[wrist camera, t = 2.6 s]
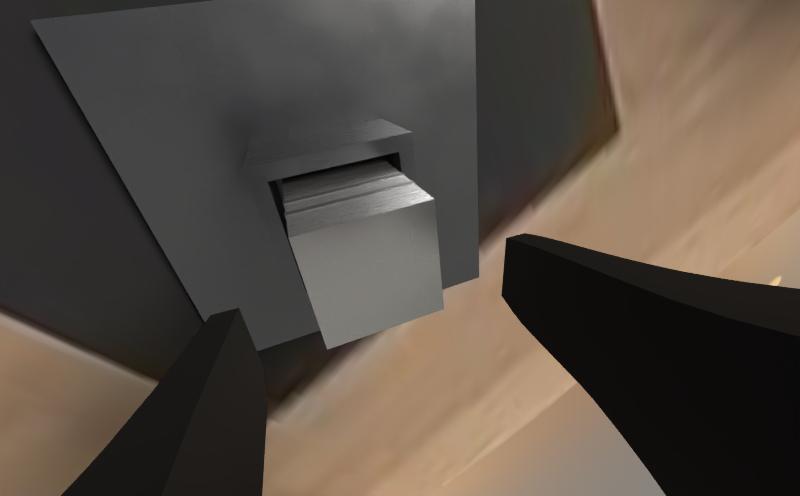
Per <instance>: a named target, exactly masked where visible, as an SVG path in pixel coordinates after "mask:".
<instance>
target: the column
mask: <svg viewBox="0 0 800 496" xmlns="http://www.w3.org/2000/svg"><path fill="white" fill-rule="evenodd" d="M282 187H283V195H284V201H283V205H284V208H285V213H284V215H285V218H286V221H287V229H288V238H289V241H290V244H291V247H292V250H293V252H294V255H295V258H296V261H297V264H298V267H299V270H300V273H301V275H302V278H303V281H304V284H305V287H306V290H307V293H308V296H309V298H310V301H311V304H312V307H313V310H314V313H315V316H316V319H317V321H318V324H319V327H320V330H321V333H322V336H323V339H324V342H325V344H326V347H327V350H328V349H330V348H333V347H336V346H339V345H342V344H345V343H348V342H351V341H353V340H356V339H359V338H362V337H365V336H368V335H371V334H373V333H376V332H379V331H382V330H385V329H388V328H391V327H394V326H396V325H399V324H402V323H405V322H408V321H411V320H414V319H416V318H419V317H422V316H425V315H428V314H431V313H434V312H437V311H439V310H442V309H444V304H443V292H442V280H441V269H440V257H439V246H438V234H437V222H436V211H435V199H434V198H432V197H431V196H430V195H429V194H427V193H426V192H425V191H424V190H422V189H421V188H420V187H418V186H417V185H416V182H414V181H411V180H409V179H408V178H407V177H406V176H405V174H404V173H403V172H402V173H401V172H399V171H398V170H397V169H395V168H394V167H393V166H392V165H390V164H389V163H388V162H387V161H385V160H384V159H383V158H381V157H380V156H378V157H374V158H370V159H365V160H361V161H356V162H352V163H348V164H343V165H339V166H334V167H330V168H326V169H321V170H317V171H312V172H308V173H304V174H299V175H295V176H290V177H286V178H282Z"/></svg>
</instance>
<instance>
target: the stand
mask: <svg viewBox="0 0 800 496" xmlns="http://www.w3.org/2000/svg"><path fill="white" fill-rule="evenodd" d="M30 22H31V23H32V25H33V27H34V29H35V30H36V32H37V34H38V35H39V37H40V39H41V41H42V42H43V44H44V46H45V47H46V49H47V51H48V53H49V54H50V56H51V58H52V60H53V61H54V63H55V65H56V66H57V68H58V70H59V72H60V73H61V75H62V77H63V79H64V80H65V82H66V84H67V85H68V87H69V89H70V91H71V92H72V94H73V96H74V98H75V99H76V101H77V103H78V104H79V106H80V108H81V110H82V111H83V113H84V115H85V117H86V118H87V120H88V122H89V123H90V125H91V127H92V129H93V130H94V132H95V134H96V136H97V137H98V139H99V141H100V142H101V144H102V146H103V148H104V149H105V151H106V153H107V154H108V156H109V158H110V160H111V161H112V163H113V165H114V167H115V168H116V170H117V172H118V173H119V175H120V177H121V179H122V180H123V182H124V184H125V186H126V187H127V189H128V191H129V192H130V194H131V196H132V198H133V199H134V201H135V203H136V205H137V206H138V208H139V210H140V211H141V213H142V215H143V217H144V218H145V220H146V222H147V224H148V225H149V227H150V229H151V230H152V232H153V234H154V236H155V237H156V239H157V241H158V243H159V244H160V246H161V248H162V249H163V251H164V253H165V255H166V256H167V258H168V260H169V261H170V263H171V265H172V267H173V268H174V270H175V272H176V274H177V275H178V277H179V279H180V280H181V282H182V284H183V286H184V287H185V289H186V291H187V293H188V294H189V296H190V298H191V299H192V301H193V303H194V305H195V306H196V308H197V310H198V312H199V313H200V315H201V317H202V318H203V320H204V322H206V320H207V319H208V318H209V317H210V315H213V314H216V313H220V312H224V311H228V310H232V309H236V308H239V309H240V311H241V314H242V316H243V319H244V321H245V323H246V326H247V328H248V331H249V333H250V335H251V338H252V340H253V343H254V345H255V347H256V350H257V351H260V350H263V349H265V348H268V347H271V346H274V345H277V344H280V343H283V342H286V341H289V340H292V339H295V338H298V337H301V336H304V335H307V334H310V333H313V332H316V331H319V330H320V327H319V324H318V321H317V319H316V316H315V313H314V310H313V307H312V304H311V301H310V298H309V296H308V293H307V290H306V287H305V284H304V281H303V278H302V275H301V273H300V270H299V267H298V264H297V261H296V258H295V255H294V252H293V250H292V247H291V244H290V241H289V238H288V229H287V221H286V218H285V215H284V213H285V208H284V205H283V201H284V195H283V187H282V178H286V177H290V176H295V175H299V174H304V173H308V172H312V171H317V170H321V169H326V168H330V167H334V166H339V165H343V164H348V163H352V162H356V161H361V160H365V159H370V158H374V157H378V156H380V157H381V158H383V159H384V160H385V161H387V162H388V163H389V164H390V165H392V166H393V167H394V168H395V169H397V170H398V171H399V172H401V173H402V172H403V173H404V174H405V176H406V177H407V178H408V179H409V180H411V181H414V182H416V185H417V186H418V187H420V188H421V189H422V190H424V191H425V192H426V193H427V194H429V195H430V196H431V197H432V198H434V199H435V211H436V222H437V234H438V246H439V257H440V269H441V280H442V289H445V288H448V287H451V286H454V285H457V284H460V283H463V282H466V281H469V280H472V279H475V278H478V277H479V242H478V177H477V111H476V46H475V0H215V1H205V2H196V3H187V4H177V5H168V6H159V7H149V8H140V9H131V10H121V11H112V12H103V13H93V14H84V15H75V16H65V17H56V18H47V19H38V20H30Z"/></svg>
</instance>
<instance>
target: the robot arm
mask: <svg viewBox="0 0 800 496" xmlns="http://www.w3.org/2000/svg"><path fill="white" fill-rule="evenodd" d="M502 297H503V298H504V300H505V301H506V303H507V304H508V305H509V307H510V308H511V310H512V311H513V312H514V314H515V315H516V316H517V318H518V319H519V320H520V322H521V323H522V324H523V325H524V326H525V327H526V328H527V330H528V331H529V332H530V333H531V334H532V335H533V336H534V337H535V338H536V339H537V340H538V341H539V342H540V343H541V344H542V345H543V346H544V347H545V348H546V350H547V351H548V352H549V353H550V354H551V355H552V356H553V357H554V358H555V359H556V360H557V361H558V362H559V363H560V364H561V365H562V366H563V367H564V368H565V369H566V370H567V371H568V372H569V373H570V374H571V375H572V376H573V377H574V379H575V380H576V381H577V382H578V383H579V384H580V385H581V386H582V387H583V388H584V389H585V390H586V391H587V393H588V394H589V395H590V396H591V397H592V398H593V399H594V401H595V402H596V403H597V404H598V406H599V407H600V408H601V409H602V411H603V412H604V413H605V414H606V416H607V417H608V418H609V419H610V421H611V422H612V423H613V424H614V426H615V427H616V428H617V429H618V431H619V432H620V433H621V435H622V436H623V437H624V439H625V440H626V441H627V443H628V444H629V445H630V447H631V448H632V449H633V451H634V452H635V453H636V455H637V456H638V457H639V458H640V460H641V461H642V463H643V464H644V465H645V467H646V468H647V469H648V471H649V472H650V473H651V475H652V476H653V478H654V479H655V480H656V482H657V483H658V485H659V486H660V487H661V489H662V490H663V492H664V493H665V495H666V496H800V289H796V288H787V287H779V286H772V285H764V284H755V283H748V282H740V281H734V280H728V279H721V278H716V277H710V276H705V275H699V274H693V273H688V272H682V271H677V270H673V269H668V268H663V267H659V266H654V265H650V264H646V263H642V262H637V261H633V260H629V259H625V258H621V257H617V256H613V255H609V254H606V253H602V252H598V251H594V250H591V249H587V248H583V247H580V246H576V245H572V244H569V243H565V242H561V241H558V240H554V239H550V238H546V237H541V236H537V235H531V234H525V233H524V234H520V235H517V236H513V237H509V238H506V248H505V261H504V273H503V285H502ZM266 418H267V400H266V385H265V372H264V367H263V364H262V362H261V359H260V357H259V355H258V352H257V350H256V347H255V345H254V343H253V340H252V338H251V335H250V333H249V331H248V328H247V326H246V323H245V321H244V319H243V316H242V314H241V311H240V309H239V308H236V309H232V310H228V311H224V312H220V313H216V314H213V315H210V317H209V318H208V319H207V320H206V322H205V323H204V324H203V326H202V327H201V328H200V330H199V331H198V332H197V334H196V335H195V336H194V338H193V339H192V340H191V342H190V343H189V344H188V346H187V347H186V348H185V350H184V351H183V352H182V354H181V355H180V356H179V358H178V359H177V360H176V362H175V363H174V364H173V366H172V367H171V368H170V369H169V371H168V372H167V373H166V375H165V376H164V377H163V379H162V380H161V381H160V382H159V384H158V385H157V386H156V388H155V389H154V390H153V391H152V393H151V394H150V395H149V396H148V397H147V399H146V400H145V401H144V402H143V403H142V405H141V406H140V407H139V408H138V409H137V411H136V412H135V413H134V414H133V415H132V417H131V418H130V419H129V420H128V421H127V422H126V424H125V425H124V426H123V427H122V428H121V430H120V431H119V432H118V433H117V434H116V436H115V437H114V438H113V439H112V440H111V442H110V443H109V444H108V445H107V446H106V447H105V448H104V450H103V451H102V452H101V453H100V454H99V455H98V456H97V457H96V459H95V460H94V461H93V462H92V463H91V464H90V465H89V466H88V467H87V468H86V469H85V471H84V472H83V473H82V474H81V475H80V476H79V477H78V478H77V479H76V480H75V481H74V482H73V483H72V485H71V486H70V487H69V488H68V489H67V490H66V491H65V492H64V493H63V494H62V495H61V496H262V487H263V470H264V454H265V437H266Z"/></svg>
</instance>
